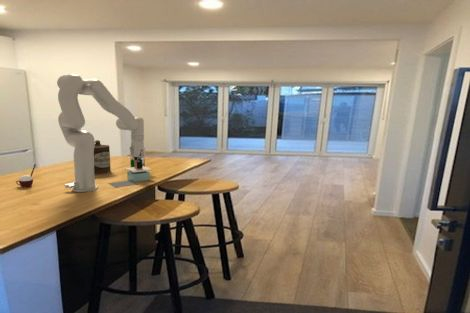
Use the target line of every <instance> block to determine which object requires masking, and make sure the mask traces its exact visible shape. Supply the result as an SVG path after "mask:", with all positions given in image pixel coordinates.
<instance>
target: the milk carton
mask: <svg viewBox="0 0 470 313" xmlns="http://www.w3.org/2000/svg"><path fill="white" fill-rule="evenodd" d="M129 154H130V155H129V156H130V158H129V159H130V168H131V167H134V157H133V156H132V155H131V146H129ZM145 155H146V147H145V146H144V158H143V162H142V166H145V167H146V165H145V164H146V161H145V160H146V157H145ZM139 157H141V156H139Z"/></svg>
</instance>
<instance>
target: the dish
mask: <svg viewBox="0 0 470 313" xmlns="http://www.w3.org/2000/svg"><path fill="white" fill-rule="evenodd" d="M126 175H127V180H130V181H132V182H134V183H137V182H144V181H149V180H150V179H151V176H150V175H151V174H150V171H142V172H134V173H133V172H130V171H128V170H127V173H126Z"/></svg>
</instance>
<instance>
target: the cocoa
mask: <svg viewBox="0 0 470 313" xmlns="http://www.w3.org/2000/svg"><path fill="white" fill-rule="evenodd" d="M36 165H37V164H34V165H33V168H32V170H31V173H30V175H28V174H23V175H21V176H20V177H19V180H16V182H15V183H16V184H17V185H18V186H20V187H23V188H29V187H31V186H32V185H33V182H34V177H33V174H34V171H35V168H36Z"/></svg>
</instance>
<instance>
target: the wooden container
mask: <svg viewBox="0 0 470 313" xmlns="http://www.w3.org/2000/svg"><path fill="white" fill-rule="evenodd" d="M110 172H111V151H110V145H109V144H102V143H101V141H100V140H98V139H96V140H95V144H94V173H95V175H104V174H109V173H110Z"/></svg>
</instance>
